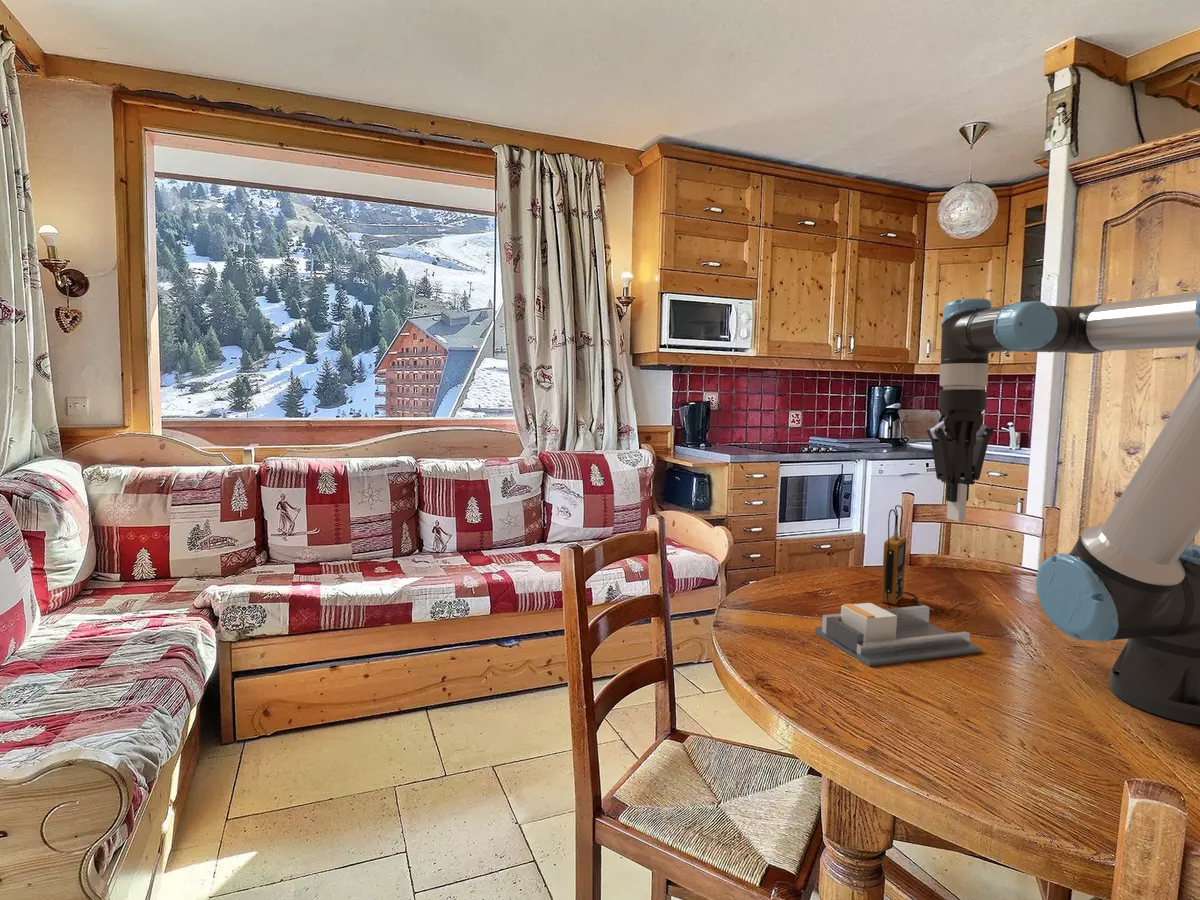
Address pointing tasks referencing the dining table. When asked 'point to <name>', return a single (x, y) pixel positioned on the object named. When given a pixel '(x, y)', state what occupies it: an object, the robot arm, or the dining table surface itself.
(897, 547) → the multimeter
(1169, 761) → the dining table surface
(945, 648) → the rail base
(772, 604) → the dining table surface
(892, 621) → the block
